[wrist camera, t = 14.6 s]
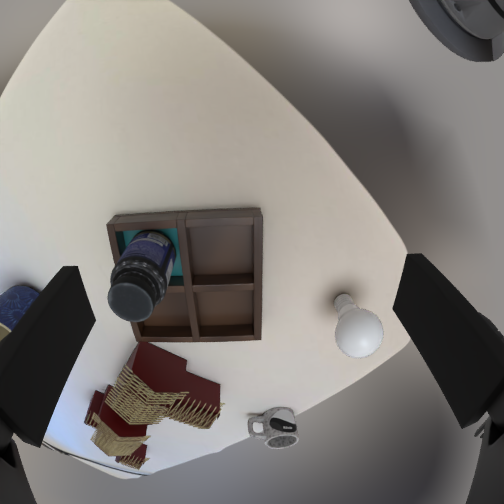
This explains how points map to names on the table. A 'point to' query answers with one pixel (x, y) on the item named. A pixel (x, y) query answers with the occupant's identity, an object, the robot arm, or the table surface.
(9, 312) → the planter
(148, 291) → the pill bottle
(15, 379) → the robot arm
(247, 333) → the wooden box
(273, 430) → the mug
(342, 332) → the lightbulb
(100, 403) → the toy houses
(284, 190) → the table surface
